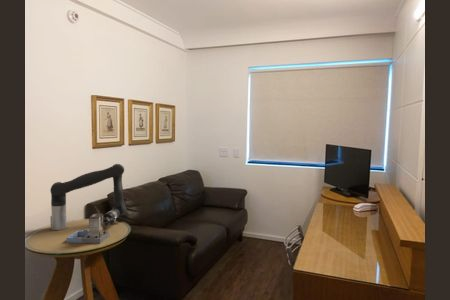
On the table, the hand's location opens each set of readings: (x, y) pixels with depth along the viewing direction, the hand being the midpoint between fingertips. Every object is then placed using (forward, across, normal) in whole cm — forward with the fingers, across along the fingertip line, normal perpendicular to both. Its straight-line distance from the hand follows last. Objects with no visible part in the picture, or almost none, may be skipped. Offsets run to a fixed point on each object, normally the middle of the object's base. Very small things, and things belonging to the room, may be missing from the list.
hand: (99, 224), depth 201 cm
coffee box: (+4, 0, +9) cm, 10 cm away
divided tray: (+4, -5, +9) cm, 11 cm away
